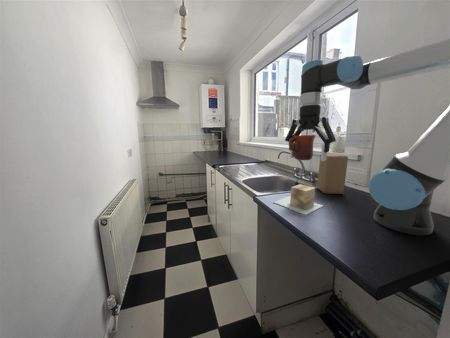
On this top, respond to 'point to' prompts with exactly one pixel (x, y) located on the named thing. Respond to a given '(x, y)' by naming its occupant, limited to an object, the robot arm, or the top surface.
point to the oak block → (302, 196)
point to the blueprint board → (286, 203)
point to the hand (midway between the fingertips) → (306, 159)
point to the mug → (302, 146)
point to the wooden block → (332, 174)
